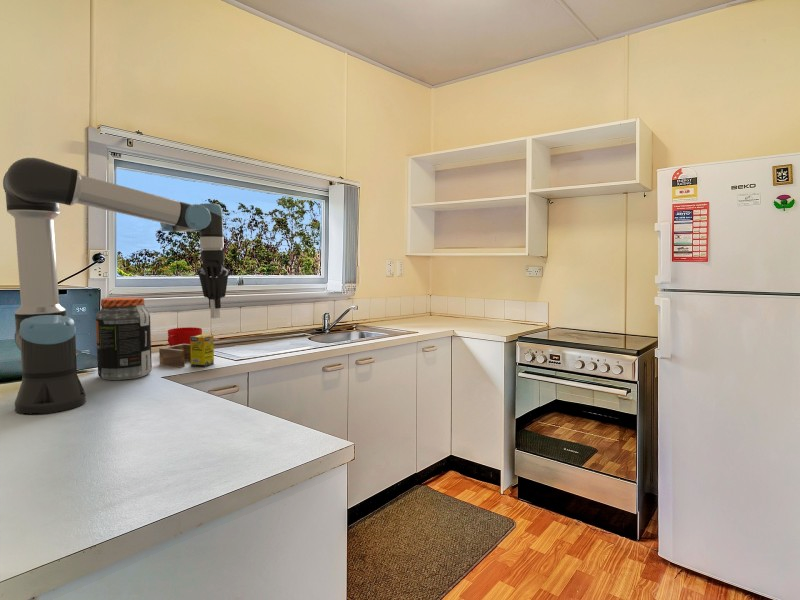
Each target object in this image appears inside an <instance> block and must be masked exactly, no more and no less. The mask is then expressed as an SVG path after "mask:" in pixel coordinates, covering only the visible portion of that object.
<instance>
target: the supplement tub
mask: <svg viewBox="0 0 800 600" xmlns="http://www.w3.org/2000/svg"><path fill="white" fill-rule="evenodd" d="M100 300H101V301H100V306H101V308H100V309H99V311H98V312H97V313H96V316H95V331H96V332H95V333H96V357H97V376H98V377H99V378H100V379H102V380H108V381H121V380H123V381H124V380H133V379H138V378H142V377H144V376H146V375H148V374H150V373H151V371H152V364H153V363H152V362H153V361H152V335H151V334H152V333H151V330H152V329H151V315H150V312H149V310H148V309H147V308H146V306H145V298H144V297H111V298H109V297H108V298H101V299H100Z"/></svg>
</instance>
